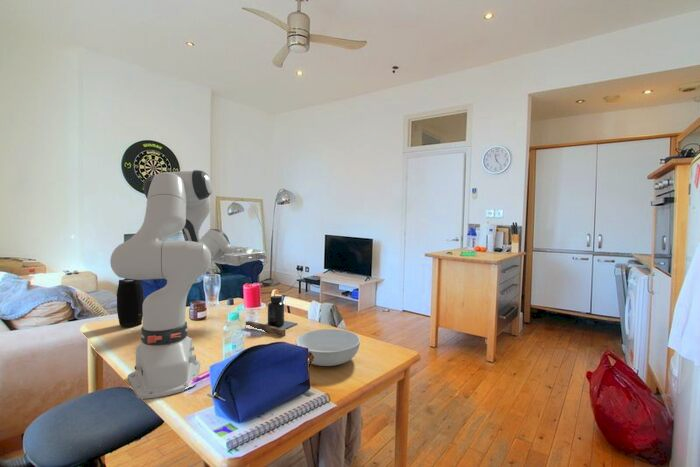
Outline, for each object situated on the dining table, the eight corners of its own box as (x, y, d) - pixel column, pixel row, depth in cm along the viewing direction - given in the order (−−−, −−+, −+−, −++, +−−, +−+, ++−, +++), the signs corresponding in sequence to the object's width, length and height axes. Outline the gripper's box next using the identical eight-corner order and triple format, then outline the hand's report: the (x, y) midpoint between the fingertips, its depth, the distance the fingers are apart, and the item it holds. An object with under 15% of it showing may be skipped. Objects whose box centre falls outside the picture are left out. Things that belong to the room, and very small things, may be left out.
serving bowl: (320, 343, 126) (320, 324, 125) (370, 355, 115) (371, 335, 115) (281, 364, 108) (281, 342, 108) (337, 381, 97) (337, 357, 97)
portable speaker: (147, 324, 144) (146, 278, 143) (122, 330, 137) (121, 281, 136) (138, 320, 149) (137, 276, 148) (113, 325, 142) (112, 279, 141)
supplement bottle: (287, 325, 143) (287, 296, 143) (272, 328, 139) (272, 298, 139) (279, 322, 148) (279, 294, 148) (264, 324, 144) (265, 296, 144)
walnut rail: (285, 335, 133) (285, 329, 133) (282, 336, 132) (282, 330, 132) (248, 326, 143) (248, 320, 143) (245, 327, 142) (245, 321, 141)
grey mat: (297, 324, 147) (297, 323, 147) (280, 331, 137) (280, 330, 137) (278, 320, 152) (278, 319, 152) (260, 327, 143) (260, 325, 143)
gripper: (216, 251, 147) (239, 253, 140) (252, 247, 165) (273, 249, 158) (216, 265, 147) (239, 268, 140) (252, 260, 165) (273, 262, 158)
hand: (258, 258), depth 149 cm, fingers open, 8 cm apart
